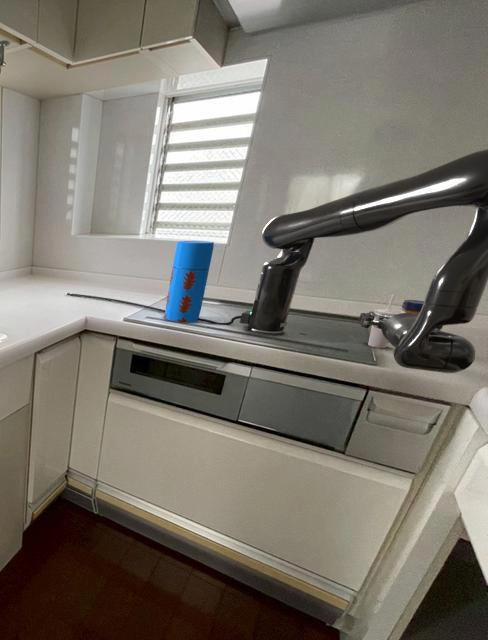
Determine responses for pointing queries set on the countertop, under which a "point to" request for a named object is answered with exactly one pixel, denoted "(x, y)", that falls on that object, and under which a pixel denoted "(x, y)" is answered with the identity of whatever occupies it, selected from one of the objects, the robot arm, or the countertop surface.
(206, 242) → the thermos
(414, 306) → the jam lid
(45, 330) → the countertop surface
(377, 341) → the smoothie
